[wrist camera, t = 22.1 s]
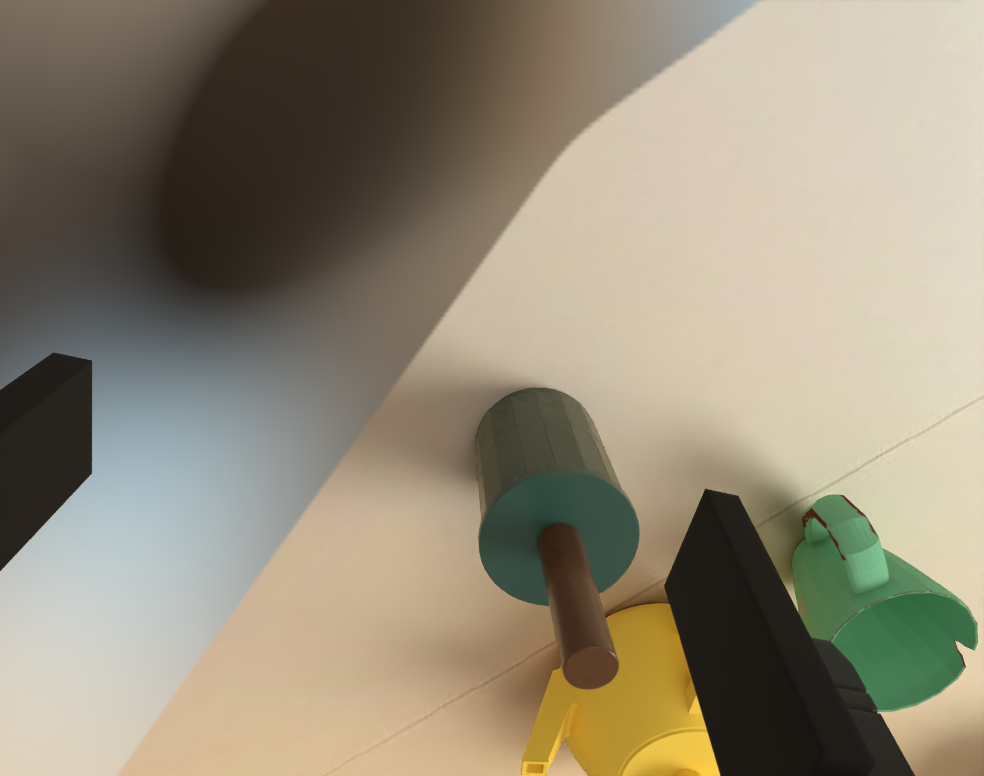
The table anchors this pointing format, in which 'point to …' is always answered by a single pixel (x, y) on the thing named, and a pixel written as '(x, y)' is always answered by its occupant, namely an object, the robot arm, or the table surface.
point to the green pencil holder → (535, 440)
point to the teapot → (628, 708)
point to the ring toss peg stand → (564, 558)
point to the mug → (877, 608)
